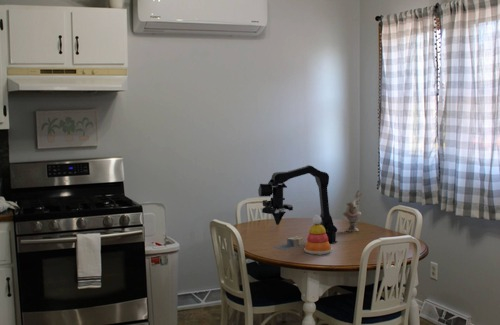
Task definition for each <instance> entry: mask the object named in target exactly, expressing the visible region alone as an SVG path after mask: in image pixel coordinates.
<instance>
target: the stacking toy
mask: <svg viewBox="0 0 500 325" xmlns="http://www.w3.org/2000/svg"><path fill="white" fill-rule="evenodd" d="M321 221H322V220H321V217H320V215H318V214H314V216H313V217H312V223H313V224H312V225H311V226H310V228H309V230H308V235H307V239H306V240H307V242H305V243H306V245H305V247H304V248H303V249H304V251H305V253H306V254H310V255H318V256H322V255H326V254H329V253H331V252H332V250H333V248H332V246H331V244H330V243H329V242H328V236H327V234H326V230H325V228H324V227H323V226H322V225H320V223H321Z"/></svg>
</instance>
